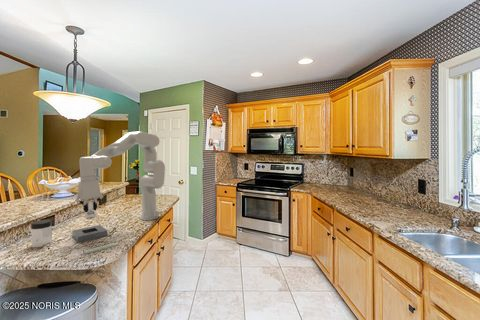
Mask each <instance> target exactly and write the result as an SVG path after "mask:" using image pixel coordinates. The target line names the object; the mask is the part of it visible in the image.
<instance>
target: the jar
mask: <svg viewBox="0 0 480 320" xmlns="http://www.w3.org/2000/svg"><path fill="white" fill-rule="evenodd" d="M30 228H31V247H32V248H43V247H44V245H46V244H50V243H52V242H53V228H52V219H39V220H37V221H33V222H31V224H30Z"/></svg>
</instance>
